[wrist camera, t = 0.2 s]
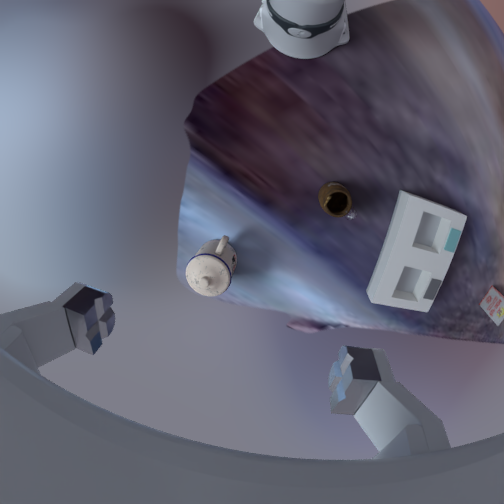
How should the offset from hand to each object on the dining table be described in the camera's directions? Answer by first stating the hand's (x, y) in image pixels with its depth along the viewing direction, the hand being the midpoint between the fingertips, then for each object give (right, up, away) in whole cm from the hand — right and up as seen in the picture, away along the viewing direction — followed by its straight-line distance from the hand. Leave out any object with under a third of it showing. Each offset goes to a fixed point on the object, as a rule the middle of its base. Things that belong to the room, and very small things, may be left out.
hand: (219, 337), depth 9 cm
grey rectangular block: (+68, -10, +48) cm, 84 cm away
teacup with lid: (-6, +3, +52) cm, 52 cm away
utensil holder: (+17, +14, +44) cm, 49 cm away
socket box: (+37, +3, +46) cm, 59 cm away
